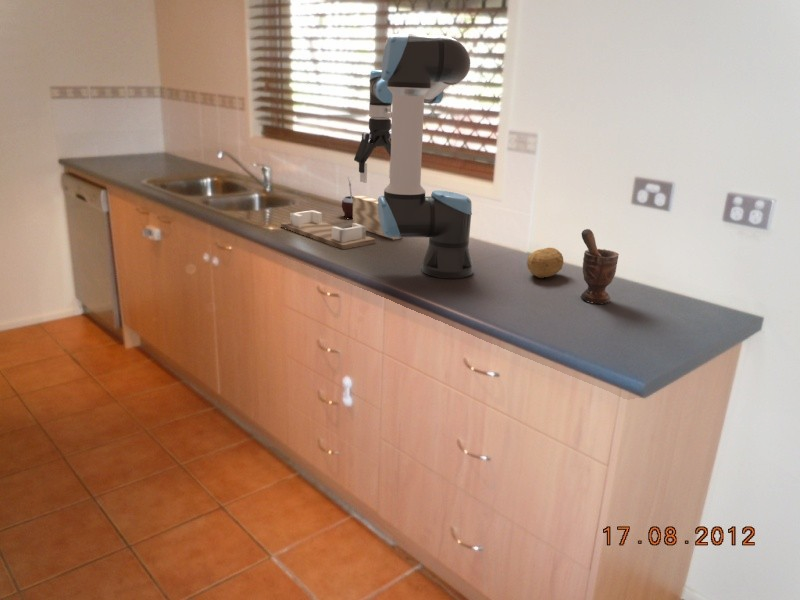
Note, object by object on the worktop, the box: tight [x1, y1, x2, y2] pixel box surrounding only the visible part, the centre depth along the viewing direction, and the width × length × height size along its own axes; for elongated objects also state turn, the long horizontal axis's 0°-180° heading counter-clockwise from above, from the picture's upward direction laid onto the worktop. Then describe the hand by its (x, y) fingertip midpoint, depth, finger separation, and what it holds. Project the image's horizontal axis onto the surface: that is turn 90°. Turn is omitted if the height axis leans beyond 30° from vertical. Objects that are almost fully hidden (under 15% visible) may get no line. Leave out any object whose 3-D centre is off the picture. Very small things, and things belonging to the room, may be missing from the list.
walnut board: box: [280, 221, 377, 250], centre depth 232 cm, size 36×14×2 cm, turn 43°
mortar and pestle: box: [580, 228, 619, 304], centre depth 173 cm, size 12×9×20 cm
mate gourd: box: [341, 176, 354, 220], centre depth 257 cm, size 8×8×15 cm
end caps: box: [289, 209, 367, 242], centre depth 231 cm, size 30×10×4 cm, turn 43°
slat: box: [352, 195, 402, 241], centre depth 238 cm, size 24×4×11 cm, turn 40°
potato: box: [526, 247, 564, 279], centre depth 195 cm, size 10×14×8 cm
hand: (378, 180), depth 233 cm, fingers open, 13 cm apart
